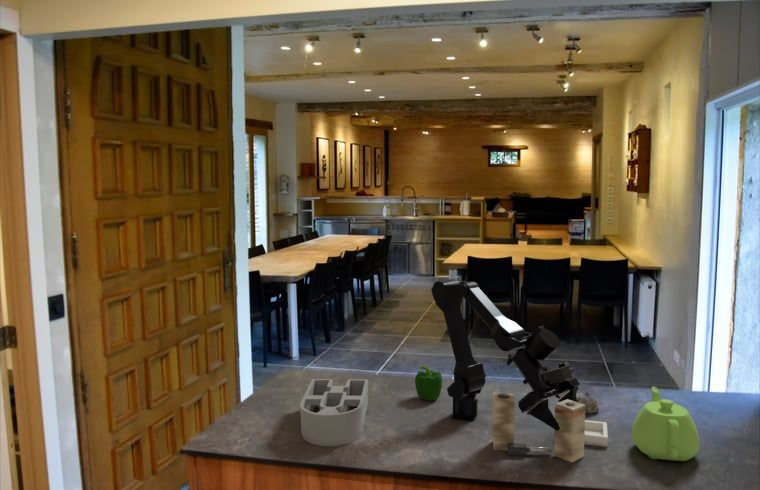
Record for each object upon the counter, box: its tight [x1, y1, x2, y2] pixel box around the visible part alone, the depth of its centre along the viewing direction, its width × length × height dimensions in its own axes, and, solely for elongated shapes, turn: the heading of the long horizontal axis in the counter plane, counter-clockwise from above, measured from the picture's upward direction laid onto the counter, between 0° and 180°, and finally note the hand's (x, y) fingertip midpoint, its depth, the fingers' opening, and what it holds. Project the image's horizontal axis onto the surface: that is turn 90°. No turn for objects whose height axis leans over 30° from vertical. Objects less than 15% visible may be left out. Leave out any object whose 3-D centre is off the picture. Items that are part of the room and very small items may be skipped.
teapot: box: [631, 386, 700, 462], centre depth 156 cm, size 22×15×13 cm
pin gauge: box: [506, 442, 553, 457], centre depth 155 cm, size 10×2×2 cm, turn 87°
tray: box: [584, 419, 609, 448], centre depth 165 cm, size 12×10×2 cm
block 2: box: [553, 399, 586, 463], centre depth 153 cm, size 5×5×13 cm
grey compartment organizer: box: [299, 378, 369, 447], centre depth 173 cm, size 17×28×9 cm, turn 177°
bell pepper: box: [414, 365, 443, 402], centre depth 194 cm, size 8×8×10 cm
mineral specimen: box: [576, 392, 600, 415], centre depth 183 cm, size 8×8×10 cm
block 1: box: [492, 392, 515, 452], centre depth 159 cm, size 5×5×13 cm
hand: (569, 424), depth 153 cm, fingers open, 9 cm apart
